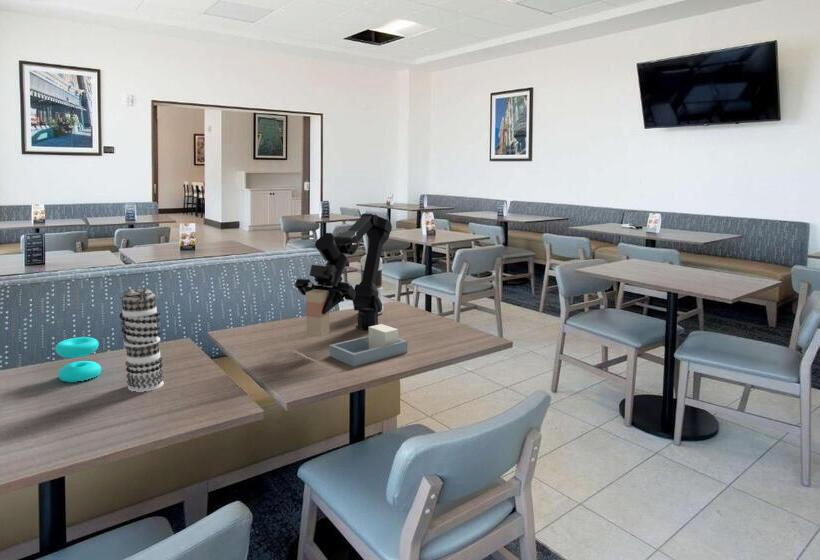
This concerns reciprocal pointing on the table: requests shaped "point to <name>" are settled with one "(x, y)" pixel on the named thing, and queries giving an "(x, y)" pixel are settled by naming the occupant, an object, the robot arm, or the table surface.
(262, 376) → the table surface
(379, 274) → the vodka
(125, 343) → the decorative candle
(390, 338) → the cream rectangular block
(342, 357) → the tote
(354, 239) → the robot arm
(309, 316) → the oat carton
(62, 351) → the donuts
